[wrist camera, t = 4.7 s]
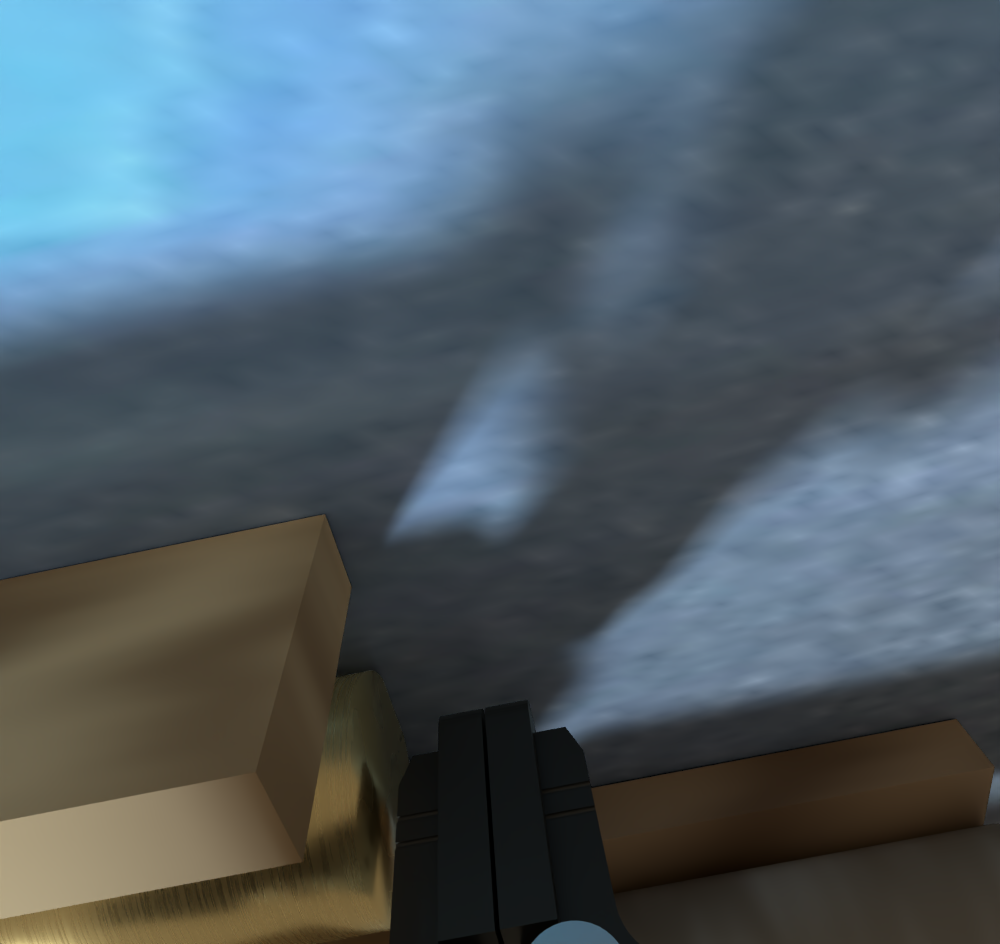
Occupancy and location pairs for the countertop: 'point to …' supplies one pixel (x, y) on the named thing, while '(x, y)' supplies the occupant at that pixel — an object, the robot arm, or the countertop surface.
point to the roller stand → (811, 846)
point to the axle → (285, 889)
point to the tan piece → (166, 714)
